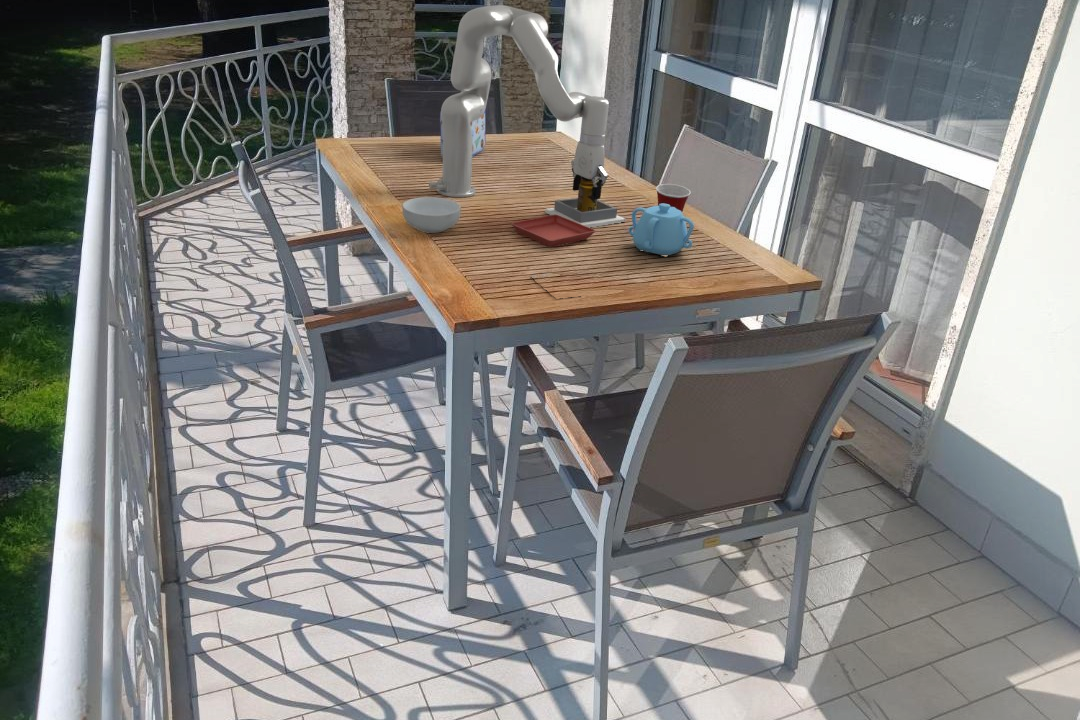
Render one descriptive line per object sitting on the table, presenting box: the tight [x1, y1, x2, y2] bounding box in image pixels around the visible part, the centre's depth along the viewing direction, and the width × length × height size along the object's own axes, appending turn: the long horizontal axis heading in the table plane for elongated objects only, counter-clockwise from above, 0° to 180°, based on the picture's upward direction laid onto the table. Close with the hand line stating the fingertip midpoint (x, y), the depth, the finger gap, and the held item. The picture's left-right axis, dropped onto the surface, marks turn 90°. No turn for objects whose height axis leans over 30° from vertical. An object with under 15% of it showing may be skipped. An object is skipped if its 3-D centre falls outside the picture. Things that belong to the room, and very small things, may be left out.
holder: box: [545, 197, 626, 228], centre depth 271 cm, size 18×18×4 cm
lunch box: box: [439, 109, 487, 159], centre depth 325 cm, size 28×10×22 cm, turn 162°
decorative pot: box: [628, 203, 695, 256], centre depth 246 cm, size 16×16×14 cm
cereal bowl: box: [401, 196, 461, 234], centre depth 250 cm, size 17×17×7 cm
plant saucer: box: [511, 215, 596, 248], centre depth 253 cm, size 18×18×3 cm
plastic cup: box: [655, 183, 692, 213], centre depth 268 cm, size 11×11×12 cm
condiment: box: [577, 176, 598, 212], centre depth 269 cm, size 7×8×12 cm
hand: (586, 194), depth 269 cm, fingers open, 9 cm apart
